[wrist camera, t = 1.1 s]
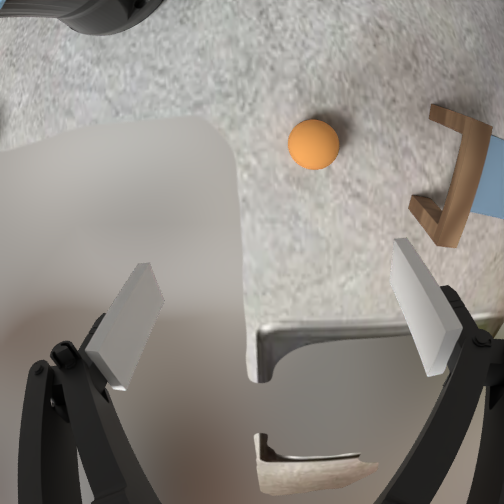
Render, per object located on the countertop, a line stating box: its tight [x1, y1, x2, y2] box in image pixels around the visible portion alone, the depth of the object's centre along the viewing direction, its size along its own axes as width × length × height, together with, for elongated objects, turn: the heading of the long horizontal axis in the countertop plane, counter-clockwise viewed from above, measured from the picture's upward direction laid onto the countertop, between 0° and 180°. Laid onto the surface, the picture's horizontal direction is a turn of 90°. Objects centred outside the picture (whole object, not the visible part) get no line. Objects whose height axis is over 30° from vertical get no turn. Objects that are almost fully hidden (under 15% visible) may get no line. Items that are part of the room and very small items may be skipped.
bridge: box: [408, 104, 493, 248], centre depth 28 cm, size 3×14×9 cm, turn 177°
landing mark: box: [470, 135, 504, 219], centre depth 32 cm, size 12×12×1 cm
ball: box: [288, 120, 339, 170], centre depth 30 cm, size 6×6×6 cm
